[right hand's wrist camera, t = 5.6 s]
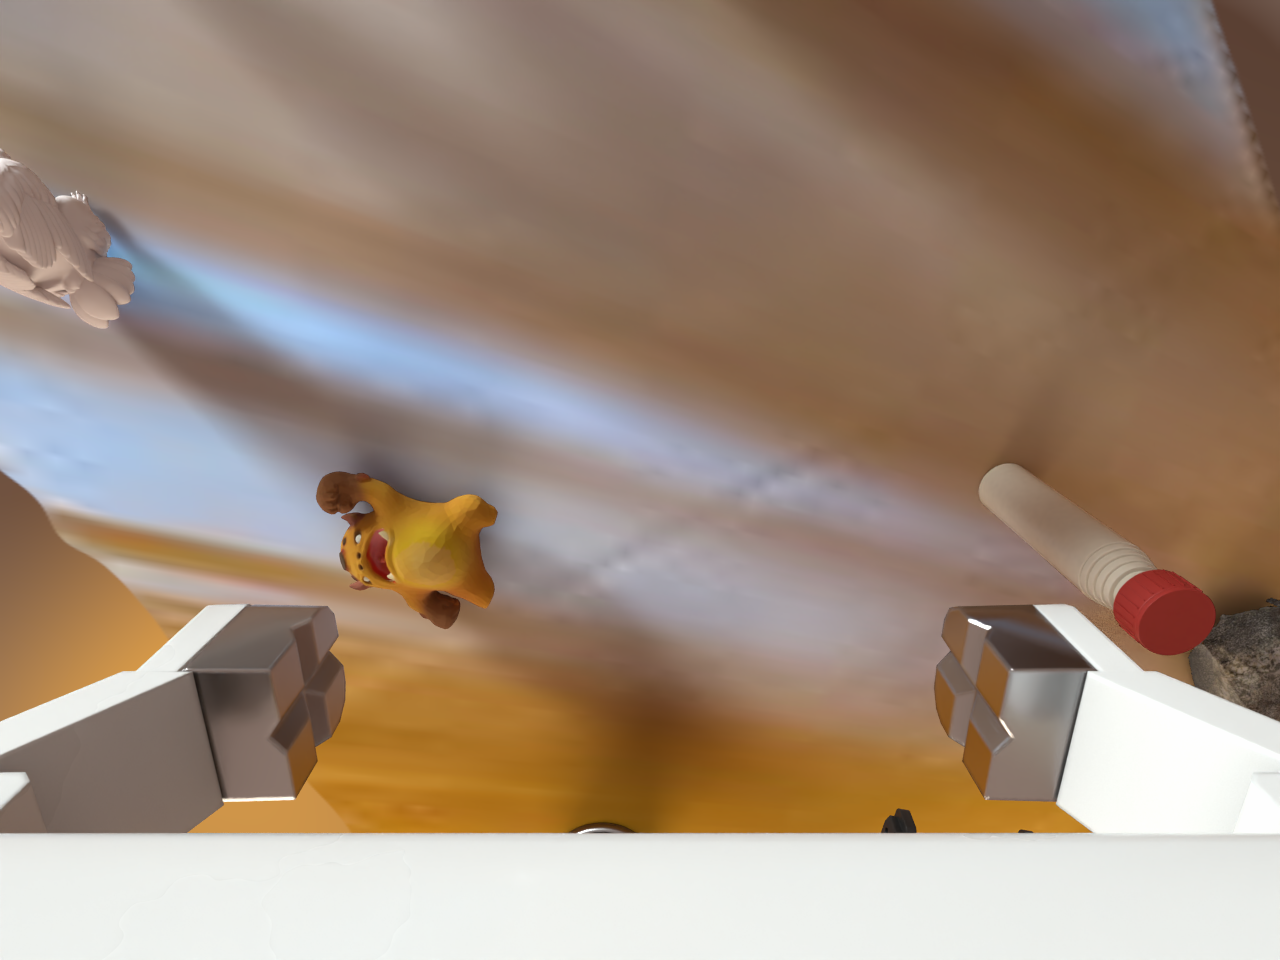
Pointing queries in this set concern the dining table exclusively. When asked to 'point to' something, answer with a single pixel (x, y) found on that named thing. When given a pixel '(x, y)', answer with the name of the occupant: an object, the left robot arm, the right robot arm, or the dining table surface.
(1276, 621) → the rock
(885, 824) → the left robot arm
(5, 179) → the figurine
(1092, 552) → the bottle
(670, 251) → the dining table surface
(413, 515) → the toy
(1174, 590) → the cap
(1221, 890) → the right robot arm
